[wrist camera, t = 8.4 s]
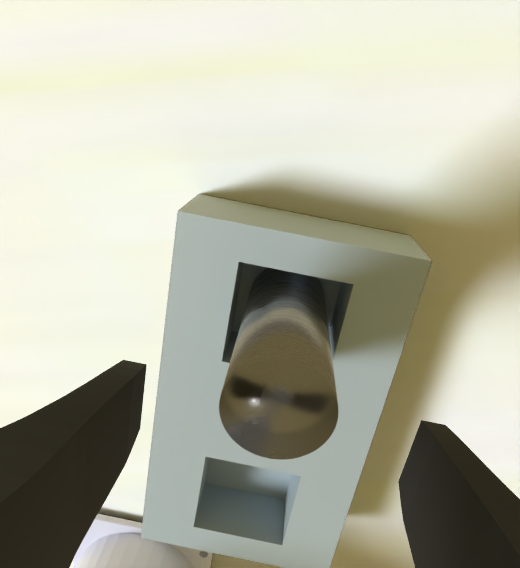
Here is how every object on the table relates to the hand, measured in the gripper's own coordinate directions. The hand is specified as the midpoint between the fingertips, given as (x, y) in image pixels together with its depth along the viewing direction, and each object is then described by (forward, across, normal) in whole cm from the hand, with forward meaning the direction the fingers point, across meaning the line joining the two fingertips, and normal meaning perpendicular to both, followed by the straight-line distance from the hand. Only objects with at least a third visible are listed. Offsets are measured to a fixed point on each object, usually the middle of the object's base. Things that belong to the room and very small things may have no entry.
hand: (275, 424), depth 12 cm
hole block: (+9, 0, +4) cm, 10 cm away
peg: (+8, 0, 0) cm, 8 cm away
